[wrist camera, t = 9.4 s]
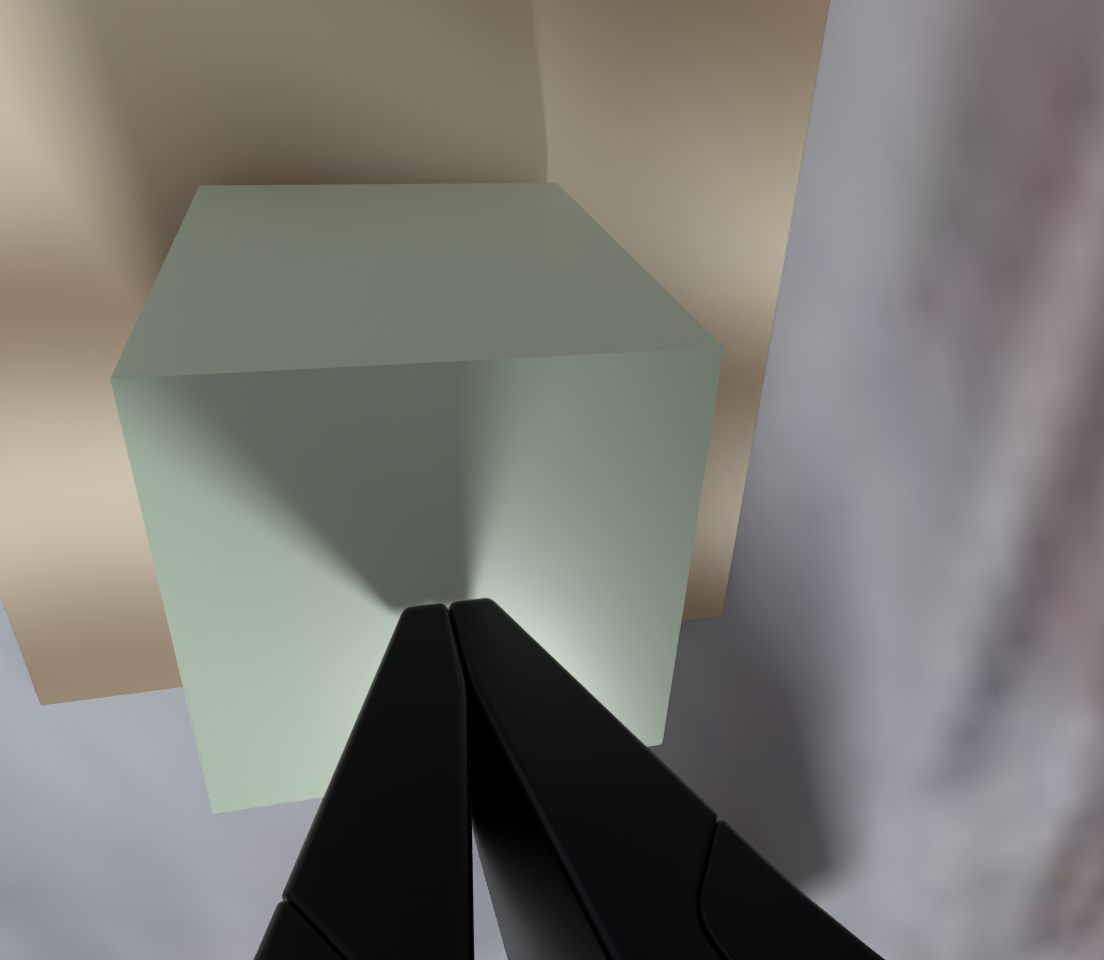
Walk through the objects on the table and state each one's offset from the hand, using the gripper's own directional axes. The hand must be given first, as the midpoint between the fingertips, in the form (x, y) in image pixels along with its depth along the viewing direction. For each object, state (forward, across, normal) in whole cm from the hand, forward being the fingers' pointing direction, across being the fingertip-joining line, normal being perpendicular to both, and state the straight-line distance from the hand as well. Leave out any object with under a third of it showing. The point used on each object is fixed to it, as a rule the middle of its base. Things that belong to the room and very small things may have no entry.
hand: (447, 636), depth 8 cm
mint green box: (+7, 0, 0) cm, 7 cm away
